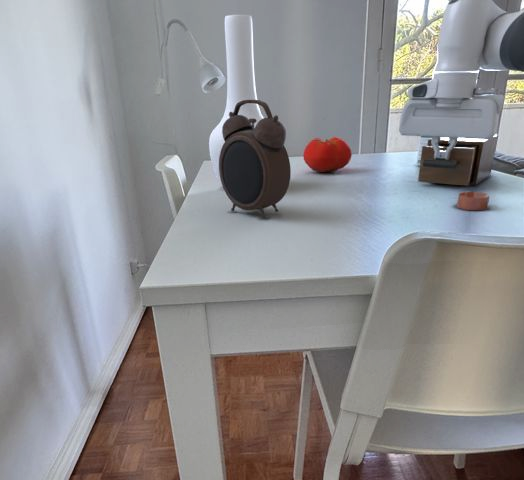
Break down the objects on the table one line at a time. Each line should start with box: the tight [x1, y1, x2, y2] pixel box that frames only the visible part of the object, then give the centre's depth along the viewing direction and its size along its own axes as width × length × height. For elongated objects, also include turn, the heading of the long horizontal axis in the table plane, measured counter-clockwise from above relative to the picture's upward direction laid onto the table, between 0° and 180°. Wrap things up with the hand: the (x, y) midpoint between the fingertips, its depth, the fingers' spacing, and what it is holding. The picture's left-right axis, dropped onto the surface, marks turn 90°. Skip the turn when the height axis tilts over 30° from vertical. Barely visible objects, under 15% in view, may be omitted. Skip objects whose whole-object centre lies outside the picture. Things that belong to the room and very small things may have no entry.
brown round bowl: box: [456, 191, 491, 212], centre depth 92 cm, size 6×6×2 cm
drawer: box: [417, 144, 479, 187], centre depth 111 cm, size 18×11×8 cm, turn 145°
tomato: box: [302, 136, 353, 173], centre depth 131 cm, size 14×13×9 cm
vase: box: [208, 14, 265, 188], centre depth 108 cm, size 17×17×35 cm
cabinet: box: [427, 134, 499, 187], centre depth 116 cm, size 15×13×10 cm
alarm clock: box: [219, 99, 292, 220], centre depth 88 cm, size 15×7×20 cm, turn 46°
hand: (441, 159), depth 105 cm, fingers closed, pressing on drawer
